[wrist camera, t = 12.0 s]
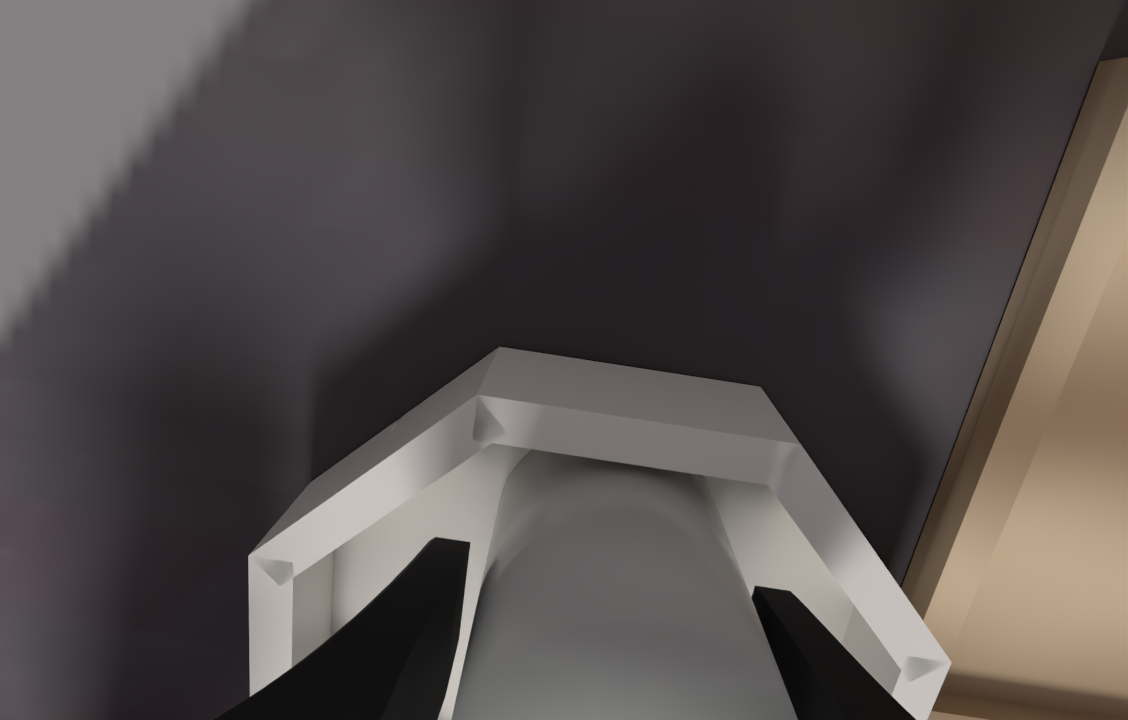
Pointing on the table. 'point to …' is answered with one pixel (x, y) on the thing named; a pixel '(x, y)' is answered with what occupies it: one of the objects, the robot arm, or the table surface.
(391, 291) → the table surface
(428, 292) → the table surface
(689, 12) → the table surface
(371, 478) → the white octagonal dish
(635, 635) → the stone
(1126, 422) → the oak tray
